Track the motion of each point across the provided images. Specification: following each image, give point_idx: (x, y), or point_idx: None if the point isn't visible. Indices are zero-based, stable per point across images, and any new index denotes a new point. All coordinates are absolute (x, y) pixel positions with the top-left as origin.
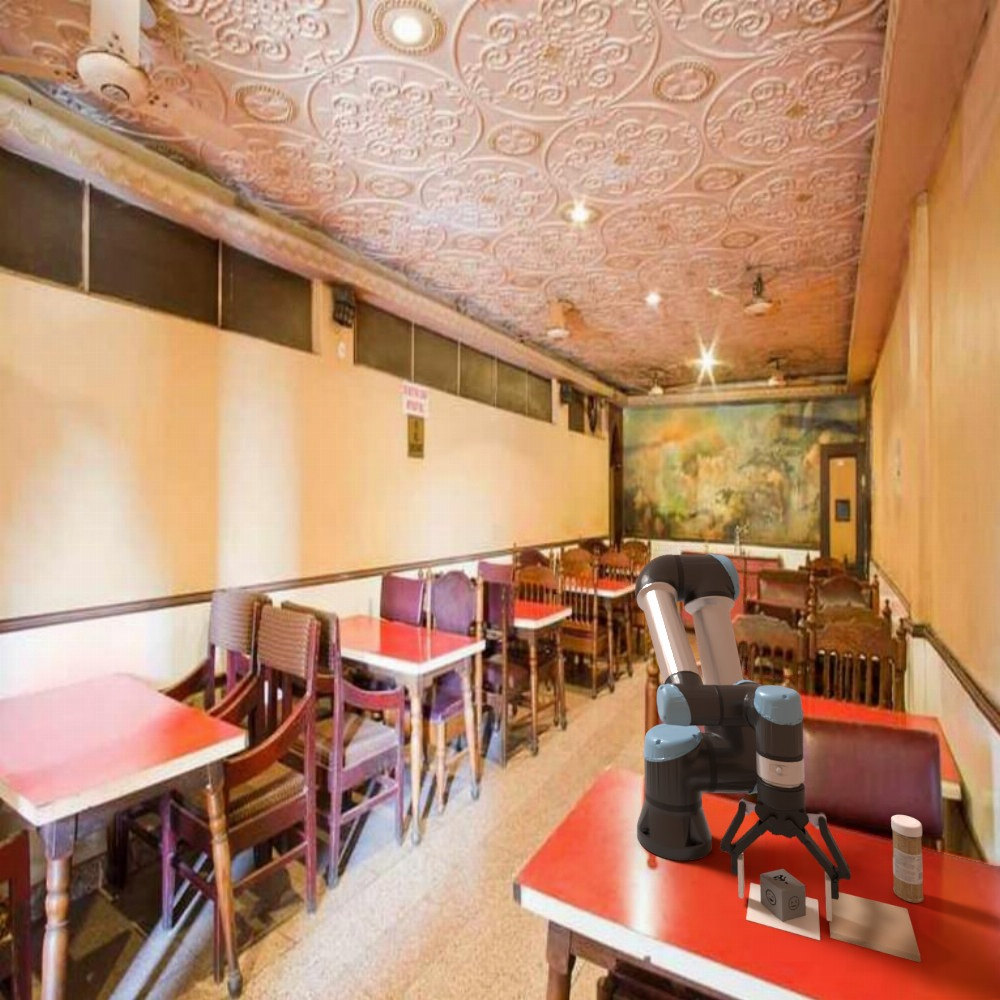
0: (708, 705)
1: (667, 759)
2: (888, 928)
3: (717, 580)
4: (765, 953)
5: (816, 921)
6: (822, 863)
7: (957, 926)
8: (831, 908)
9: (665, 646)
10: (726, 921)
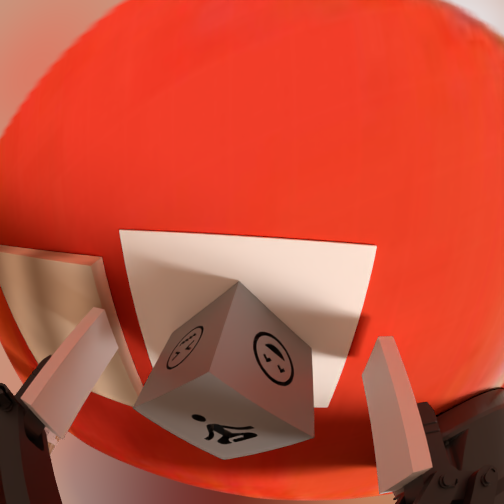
0: None
1: None
2: (29, 314)
3: None
4: (304, 61)
5: (143, 315)
6: (10, 457)
7: (12, 343)
8: (71, 332)
9: None
10: (443, 210)
